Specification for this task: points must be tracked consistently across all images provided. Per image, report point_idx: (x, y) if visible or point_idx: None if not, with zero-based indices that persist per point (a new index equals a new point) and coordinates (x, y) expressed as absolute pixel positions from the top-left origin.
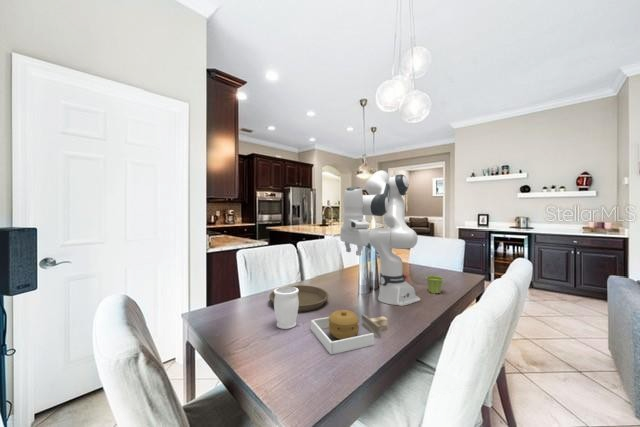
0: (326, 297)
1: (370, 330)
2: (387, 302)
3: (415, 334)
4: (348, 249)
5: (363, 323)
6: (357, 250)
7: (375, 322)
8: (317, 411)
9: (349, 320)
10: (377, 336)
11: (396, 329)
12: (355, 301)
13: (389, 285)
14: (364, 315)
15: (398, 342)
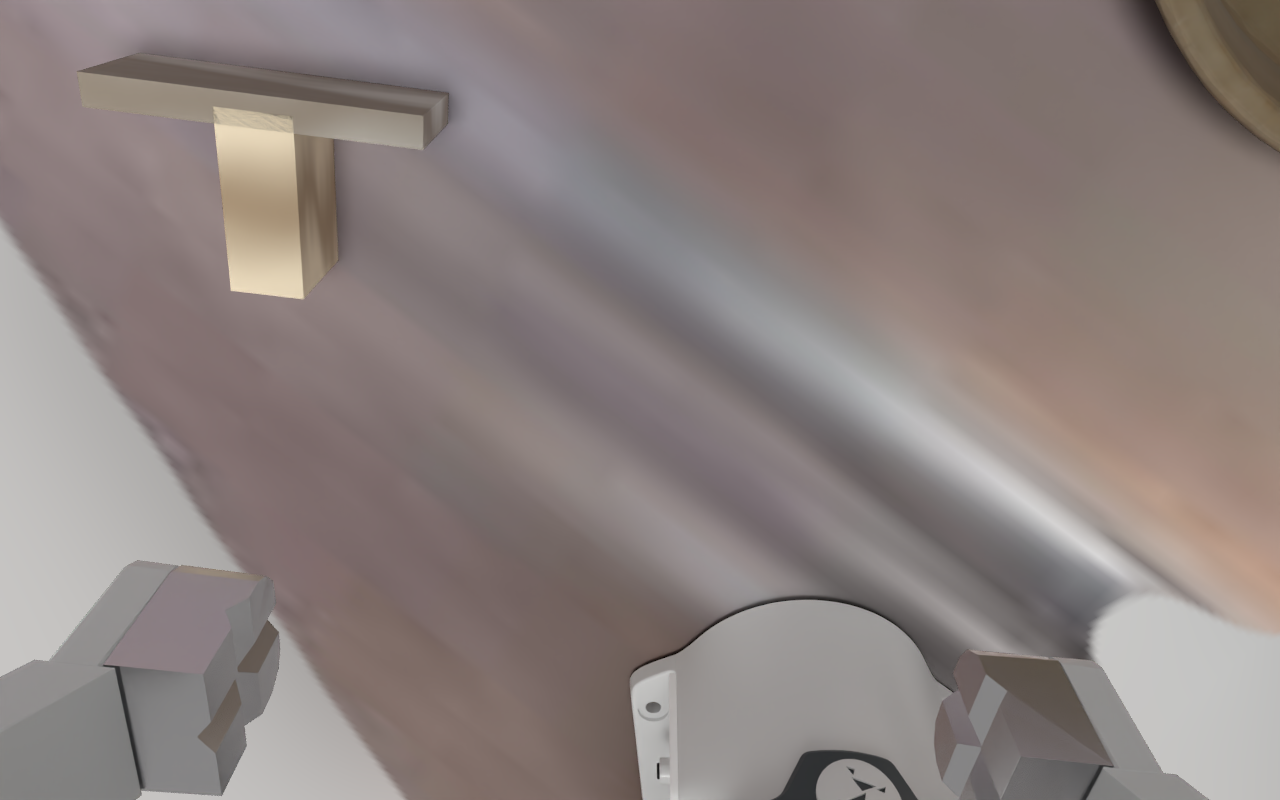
0: (1212, 61)
1: (274, 73)
2: (743, 622)
3: (119, 387)
4: (986, 750)
5: (410, 94)
6: (24, 693)
7: (183, 117)
8: None
9: None
10: (146, 56)
11: (246, 320)
12: (996, 412)
13: (760, 780)
14: (395, 130)
15: (18, 164)
